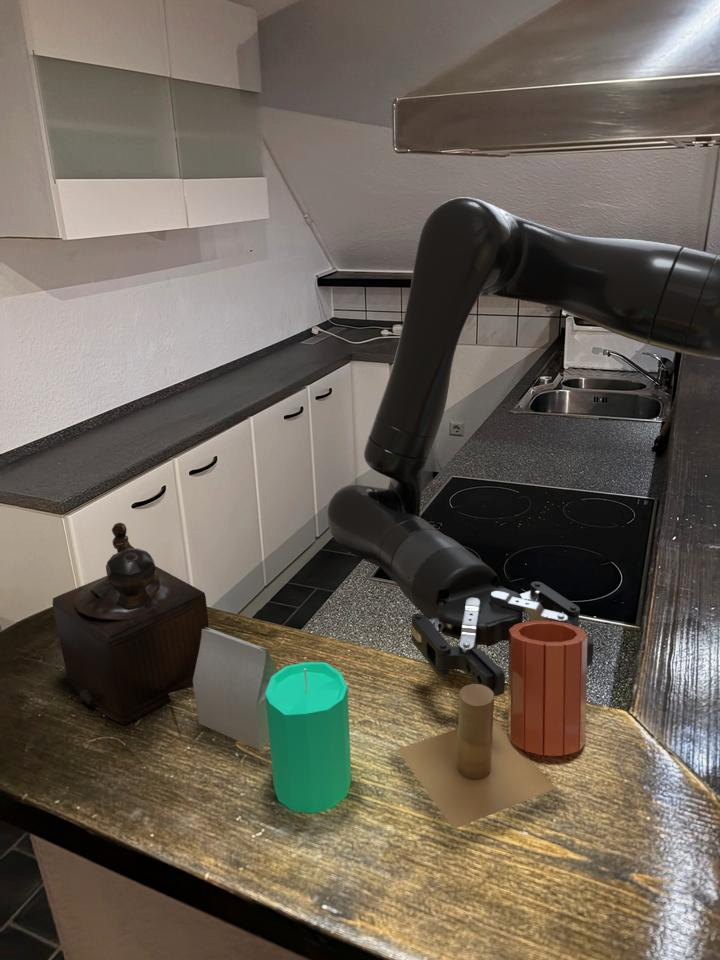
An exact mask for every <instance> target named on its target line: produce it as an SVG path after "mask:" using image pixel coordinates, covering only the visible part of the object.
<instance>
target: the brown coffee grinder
mask: <svg viewBox="0 0 720 960" xmlns="http://www.w3.org/2000/svg"><path fill="white" fill-rule="evenodd" d="M111 532H112V534H113V536H114V538H112V539H113V540H112V546H113V548H114V549H115V550H116V551H117V552H116V553H114V554H112V556H110V558H108V560H107V562H106V565H105V571H106V575H104V576H102V577H101V578H98V579H96V580H92V581H91V582H89V583H86V584H83V585H81V586H79V587H76V588H74V589H71V590H68V591H67V592H63V593H62V594H59V595H57V596H55V597H53V598H52V609H53V614H54V619H55V624H56V629H57V633H58V638H59V643H60V648H61V652H62V657H63V663H64V665H65V666H64V667H65V671H66V683H67V685H69V686H70V687H71V688H72V689H73V690H74V691H75V692H76V693H77V694H78V695H79V698H80V699H81V701H83V702H84V703H85V704H87V705H89V706H90V707H92V708H93V709H95V710H97V711H99V712H100V713H102V714H103V715H104V716H106V717H107V718H109V719H110V720H112V721H115V722H117V723H119V724H121V725H124V726H126V725H128V724H130V723H133V722H135V721H137V720H139V719H142V718H144V717H146V716H148V715H150V714H153V713H154V712H156V711H158V710H159V709H161V708H163V707H164V706H166V705H168V704H170V703H171V702H172V700H171V697H170V694H171V693H174V692H179V691H183V690H186V689H189V688H194V686H193V677H194V672H195V668H196V663H197V658H198V654H199V649H200V643H201V635H202V629H205V627H207V628H210V625H209V615H208V614H209V613H208V607H207V597H206V593H205V592H204V591H202V590H200V589H198V588H197V587H195V586H193V585H192V584H190V583H188V582H186V581H184V580H183V579H181V578H178V577H176V576H174V575H173V574H171V573H170V572H167V571H165V570H163V569H162V568H160V567H158V566H157V565H156V563H155V560H154V559H153V557H152V555H151V554H150V553H149V552H148V551H147V550H144V549H142V548H139V547H138V548H135V547H134V546H132V544H131V543H130V541H129V536H128V535H127V526H126V524H125V523H123V522H117V523H114V525H113V527H112V528H111Z"/></svg>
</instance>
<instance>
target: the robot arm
mask: <svg viewBox="0 0 720 960" xmlns="http://www.w3.org/2000/svg"><path fill="white" fill-rule="evenodd" d="M479 297H495V298H504V299H508V300H509V299H510V300H517V301H520V302H521V301H522V302H528V303H533V304H538V305H543V306H547V307H551V308H555V309H558V310H562V311H564V312H566V313H569V314H571V315H573V316H576V317H578V318H580V319H582V320H584V321H587V322H588V323H591V324H593V325H594V326H597V327H598V328H602V329H604V330H606V331H609V332H612V333H614V334H616V335H619V336H622V337H624V338H627V339H630V340H632V341H633V340H634V341H636V342H639V343H642V344H645V345H649V346H653V347H656V348H660V349H664V350H667V351H671V352H673V353H678V354H683V355H685V356H690V357H694V358H695V357H696V358H698V359H699V358H700V359H705V360H711V361H712V360H714V361H720V254H718V253H715V252H710V251H705V250H700V249H696V248H691V247H687V246H683V245H677V244H672V243H664V242H657V241H651V240H649V241H648V240H642V239H628V238H607V237H592V236H591V237H590V236H584V235H583V236H582V235H577V234H573V233H568V232H565V231H561V230H558V229H554V228H552V227H548V226H547V225H546V226H545V225H542V224H539V223H536V222H533V221H530V220H527V219H525V218H522V217H520V216H517V215H515V214H512V213H510V212H508V211H506V210H504V209H502V208H500V207H498V206H496V205H493V204H491V203H488V202H486V201H484V200H481V199H478V198H474V197H469V196H464V197H462V196H460V197H456V198H452V199H449V200H447V201H445V202H443V203H442V204H440V205H439V206H438V207H436V208H435V209H434V210H433V211H432V212H431V213H430V215H429V216H428V217H427V219H426V221H425V222H424V224H423V226H422V229H421V232H420V235H419V239H418V244H417V248H416V253H415V258H414V265H413V269H412V275H411V282H410V287H409V293H408V299H407V304H406V308H405V312H404V317H403V322H402V323H403V324H402V327H401V331H400V336H399V340H398V345H397V347H396V351H395V355H394V358H393V359H394V360H393V362H392V366H391V371H390V373H389V375H388V379H387V382H386V386H385V389H384V392H383V394H382V397H381V400H380V403H379V406H378V409H377V411H376V414H375V417H374V421H373V423H372V426H371V429H370V432H369V435H368V436H367V437H368V438H367V440H366V443H365V447H364V451H363V458H364V461H365V463H366V464H367V465H368V467H369V468H371V469H372V470H373V471H375V472H377V473H379V474H380V475H382V476H384V477H387V478H389V483H388V485H387V488H384V487H377V486H369V485H362V484H349V485H345V486H343V487H341V488H339V489H337V490H336V491H335V492H334V493H333V495H332V496H331V498H330V499H329V502H328V504H327V508H326V516H325V517H326V523H327V526H328V527H327V528H328V530H329V532H330V534H331V536H332V538H333V539H334V540H335V541H336V542H337V544H339V546H341V547H342V548H343V549H344V550H346V551H348V552H350V553H351V554H353V555H355V556H357V557H359V558H360V559H362V560H364V561H366V562H367V563H370V564H372V565H374V566H376V567H378V568H380V569H381V570H382V571H383V572H384V573H385V574H386V575H387V576H388V577H389V578H390V579H391V580H392V581H393V582H394V583H395V584H396V586H398V587H399V589H400V591H401V592H402V594H403V595H404V596H405V598H406V599H407V600H409V602H410V603H411V604H412V605H413V606H414V607H416V609H418V611H420V612H421V613H414V614H412V616H411V643H412V644H413V645H414V646H415V647H416V649H417V650H418V652H419V653H420V654H421V656H423V658H424V659H425V660H426V662H427V663H428V664H429V666H430V667H431V668H432V670H433V671H434V672H435V673H436V674H437V675H439V676H448V675H450V674H451V671H454V670H455V671H456V670H458V671H459V673H461V674H464V675H467V676H468V677H469V678H470V679H471V680H472V681H473V682H474V684H480V685H484V686H486V687H488V688H490V689H491V690H492V692H493V693H494V697H498V696H501V695H503V694H505V689H506V688H505V687H506V674H505V673H504V670H503V669H502V668H501V667H500V666H499V665H498V664H497V663H496V662H494V661H493V660H492V659H491V658H490V657H489V656H488V655H487V654H486V653H485V651H483V650H482V649H481V648H480V647H478V646H485V647H487V648H488V647H492V646H495V645H497V644H498V643H500V642H505V641H509V629H510V628H511V627H513V626H514V625H515V624H518V623H523V613H526V614H528V616H529V621H550V622H551V621H556V622H563V623H568V624H571V625H574V626H576V627H579V623H580V622H579V621H580V614H581V608H580V606H579V605H577V604H575V603H574V602H572V601H571V600H569V599H568V598H566V597H565V596H563V595H561V594H560V593H559V592H557V591H555V590H554V589H552V588H551V587H549V586H548V585H546V584H545V583H543V582H541V581H532V582H531V583H530V590H528V591H525V592H522V593H518V592H517V591H514V590H511V589H508V588H506V587H505V586H504V584H503V582H502V581H501V579H500V577H499V575H498V574H497V573H496V571H495V570H494V569H492V567H490V566H489V565H488V564H487V563H485V562H484V561H483V560H482V559H480V558H479V557H477V556H476V555H475V554H473V553H472V552H471V551H470V550H468V549H466V547H465V546H463V545H462V544H460V543H459V542H458V541H457V540H455V539H453V538H452V537H450V536H447V535H445V534H444V533H442V532H441V531H440V530H439V529H437V528H436V527H435V526H433V524H431V523H430V522H428V521H427V520H425V519H424V518H422V517H420V514H421V500H422V499H421V498H422V489H423V482H424V472H425V467H426V463H427V461H428V458H429V456H430V452H431V450H432V447H433V445H434V443H435V440H436V437H437V434H438V432H439V429H440V426H441V423H442V420H443V417H444V413H445V410H446V405H447V399H448V395H449V389H450V380H451V374H452V367H453V361H454V357H455V353H456V350H457V346H458V343H459V340H460V337H461V335H462V332H463V329H464V327H465V325H466V322H467V320H468V318H469V317H470V314H471V312H472V310H473V309H474V307H475V304H476V303H477V301H478V300H479ZM443 635H444V636H445V637H450V638H452V639H455V640H459V642H458V645H457V646H451V644H450V643H449V642H448V640H446V638H445V637H444V636H443ZM593 657H594V642H593V640H592V639H591V638H590V637H589V636H587V667H589V666H591V665H593V659H594V658H593Z"/></svg>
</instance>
